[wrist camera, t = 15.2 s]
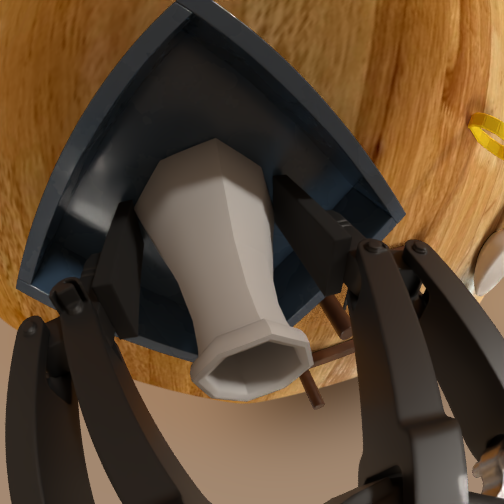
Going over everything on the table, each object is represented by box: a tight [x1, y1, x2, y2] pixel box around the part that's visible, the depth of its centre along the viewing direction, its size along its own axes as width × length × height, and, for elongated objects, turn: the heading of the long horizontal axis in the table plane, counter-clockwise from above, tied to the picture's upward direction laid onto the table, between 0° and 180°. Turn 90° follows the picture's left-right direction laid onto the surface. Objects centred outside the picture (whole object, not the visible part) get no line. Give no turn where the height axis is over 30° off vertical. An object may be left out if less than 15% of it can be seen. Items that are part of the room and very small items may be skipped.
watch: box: [468, 112, 504, 160], centre depth 14 cm, size 6×3×6 cm, turn 67°
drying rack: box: [299, 246, 405, 409], centre depth 22 cm, size 14×13×6 cm
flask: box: [134, 138, 314, 402], centre depth 11 cm, size 7×7×10 cm
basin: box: [16, 0, 406, 362], centre depth 13 cm, size 15×15×5 cm
